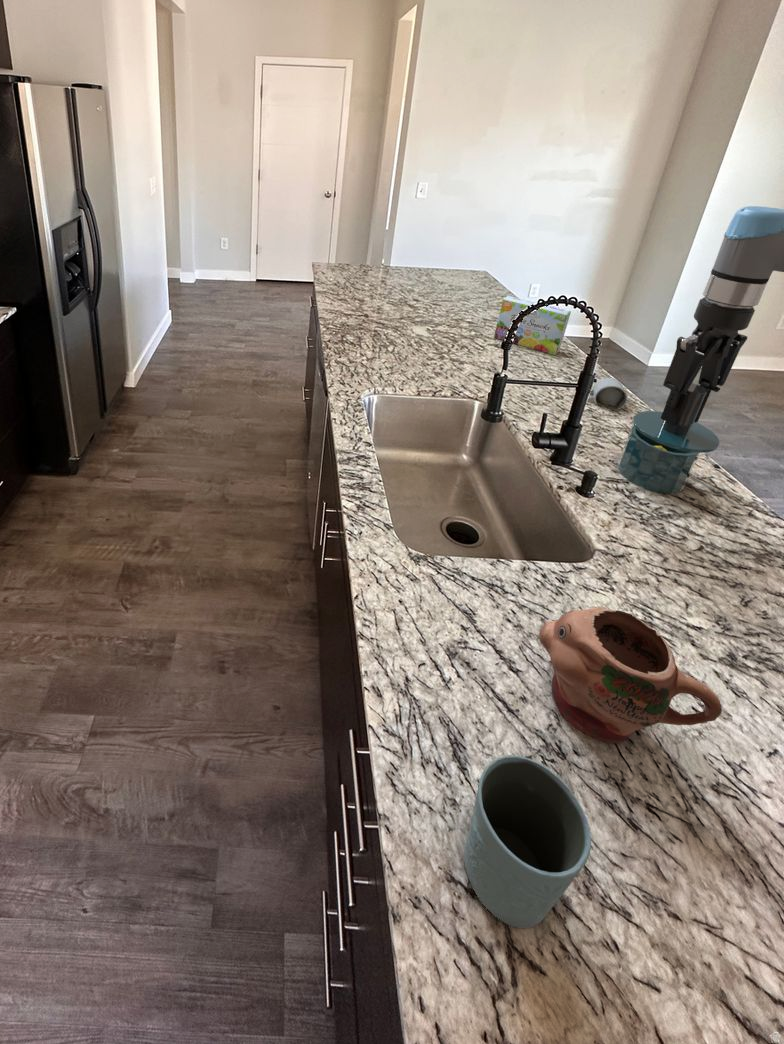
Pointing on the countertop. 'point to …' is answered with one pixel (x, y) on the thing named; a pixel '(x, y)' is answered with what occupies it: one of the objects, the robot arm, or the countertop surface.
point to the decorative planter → (617, 675)
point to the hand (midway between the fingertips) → (679, 419)
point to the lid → (679, 426)
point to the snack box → (533, 325)
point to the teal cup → (524, 840)
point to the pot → (655, 464)
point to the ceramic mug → (609, 393)
